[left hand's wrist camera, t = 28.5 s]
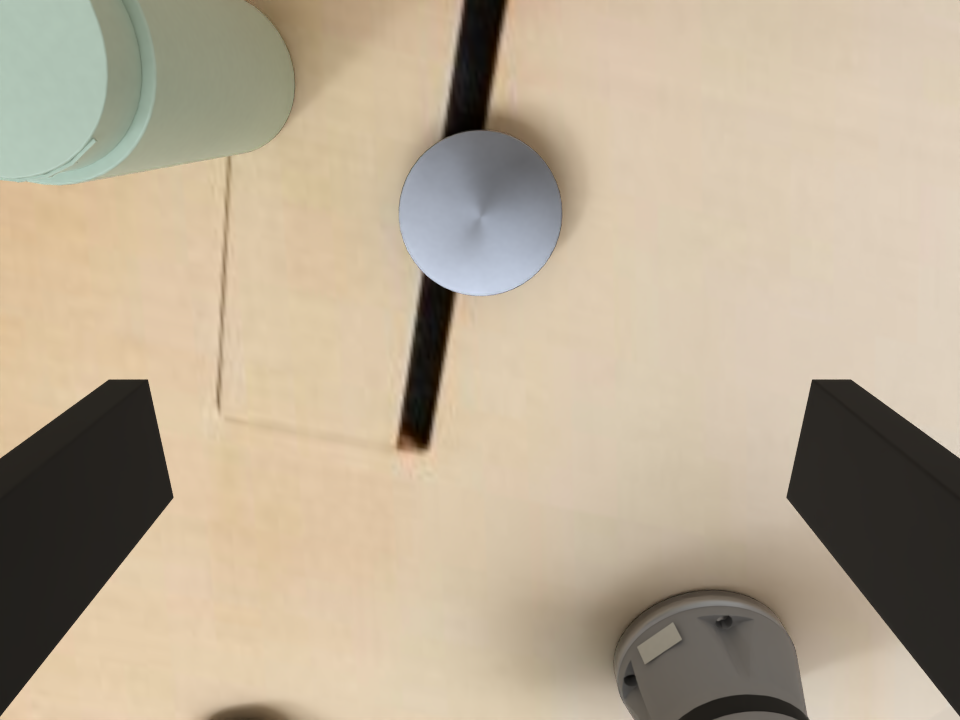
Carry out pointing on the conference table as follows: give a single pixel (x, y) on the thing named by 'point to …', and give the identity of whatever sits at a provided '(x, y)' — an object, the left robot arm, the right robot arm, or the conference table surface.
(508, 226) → the lid
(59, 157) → the jar
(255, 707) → the conference table surface
